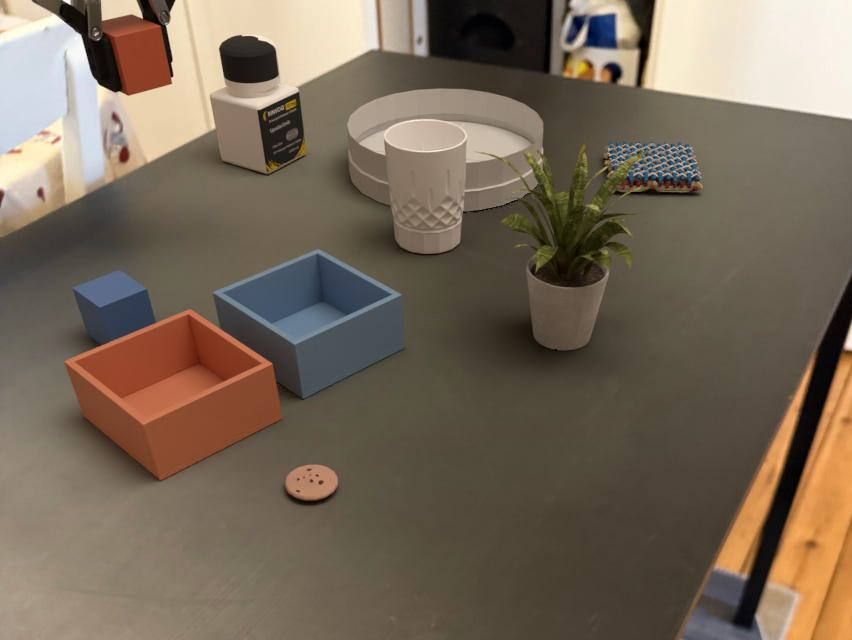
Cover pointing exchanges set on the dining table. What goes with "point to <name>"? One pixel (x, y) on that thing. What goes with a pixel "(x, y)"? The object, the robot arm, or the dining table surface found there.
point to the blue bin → (313, 320)
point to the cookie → (311, 482)
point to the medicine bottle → (256, 107)
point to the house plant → (569, 251)
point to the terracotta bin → (175, 392)
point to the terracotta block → (138, 53)
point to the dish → (498, 137)
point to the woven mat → (656, 166)
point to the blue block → (113, 306)
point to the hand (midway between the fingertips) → (135, 78)
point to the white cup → (426, 183)
